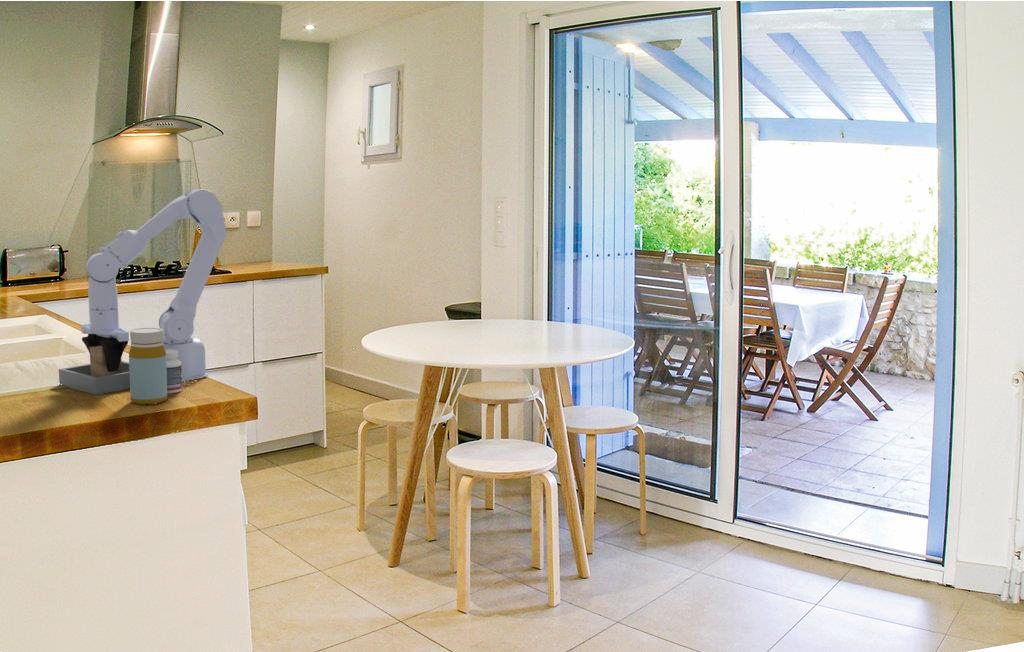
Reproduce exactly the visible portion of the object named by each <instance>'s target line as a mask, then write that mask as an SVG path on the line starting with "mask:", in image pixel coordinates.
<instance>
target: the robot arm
mask: <svg viewBox="0 0 1024 652" xmlns="http://www.w3.org/2000/svg"><path fill="white" fill-rule="evenodd" d="M223 211H224V210H223V205H222V203H221V202H220V200H219V198H218V197H217V195H216V194H215V193H214V192H212V190H211V191H210V190H208V189H201V188H191V189H189V190H188V191H186V192H185V194H184V195H183V194H182V195H180V196H179V197H177V198H175V199H174V200H171V202H169V203H168V204H167V205H166V206H164V207H163V208H162V209H161V210H160V211H158V212H157V213H156V214H155V215H153V217H151V218H149V220H147V221H146V222H145V223H144V224H143V225H141V226H140V227H139V228H138V229H136V230H135V229H134V230H133V229H126V230H125V231H124V232H123V231H119V232H118V233H116V236H117V237H116V238H115V239H113V240H112V241H111V242H110V243H109V244H107V245H106V246H104V247H103V246H101V247H100V248H98V250H99V253H95V254H92V255H91V256H89V258H88V259H87V262H86V265H85V270H86V272H87V274H88V275H89V276H88V280H87V281H88V289H87V292H88V293H87V294H88V308H89V309H88V310H89V311H88V312H89V313H88V315H89V323H86V324H81V325H80V327H81V329H80V331H81V334H84V335H86V334H87V336H82V337H81V341H82V343H84V345H85V347H86V349H87V351H88V353H89V354H90V347H92V346H98V345H101V346H102V348H103V351H104V354H105V358H106V365H107V369H108V371H109V372H112V371H117V370H118V369H119V365H120V361H122V356H123V355H124V354H123V353H124V351H125V349H126V347H127V346H128V343H129V341H130V337H129V336H130V333H129V331H127V330H124V329H123V328H121V327H120V324H119V323H120V322H119V302H118V301H119V300H118V298H119V297H118V287H117V283H116V282H117V279H116V278H117V276H118V273H119V269H123V268H125V267H126V266H128V265H129V264H130V263H132V262H133V261H134V260H135V259H137V258H138V257H139V256H141V255H142V254H143V253H144V252H146V250H147V247H148V245H147V244H148V241H150V240H151V239H153V238H154V237H155V236H157V235H158V234H159V233H161V232H163V231H164V230H165V229H166V228H168V227H169V226H170V225H172V224H173V223H174V222H176V221H178V220H180V221H181V220H187V219H194V221H195V222H196V225H197V226H198V228H199V230H200V232H201V235H200V238H199V240H198V243H197V245H196V248H195V250H194V252H193V254H192V257H191V259H190V261H189V264H188V266H187V268H186V271H185V273H184V275H183V278H182V281H181V282H180V285H179V287H178V290H177V292H176V295H175V297H174V298H173V299H172V300H171V302H170V304H169V305H168V308H167V309H166V310H165V311H164V312H162V314H161V315H160V316H159V319H158V328H160V329H163V346H164V349H165V350H168V349H172V350H177V351H178V358H177V360H179V361H181V364H182V383H183V382H187V381H194V380H196V379H198V380H199V379H202V378H208V377H209V375H208V374H207V373H206V348H205V345H204V343H203V341H201V339H199V338H195V337H193V336H192V335H193V334H194V331H195V327H194V326H195V325H194V320H195V317H196V314H197V305H198V303H199V301H200V298H201V296H202V294H203V291H204V289H205V286H206V284H207V283H208V282H207V281H208V279H209V277H210V274H211V272H212V269H213V267H214V264H215V262H216V261H217V257H218V255H219V253H220V250H221V248H222V246H223V243H224V240H225V239H226V235H227V230H226V229H227V228H226V223H225V217H224V212H223Z"/></svg>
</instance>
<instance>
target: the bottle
mask: <svg viewBox="0 0 1024 652" xmlns="http://www.w3.org/2000/svg"><path fill="white" fill-rule="evenodd" d="M163 334H164V332H163V329H160V327H139V328H134V329H130V333H129V336H130V337H129V339H130V348H129V352H128V362H129V372H130V388H129V391H130V393H129V394H130V395H129V396H130V401H131V402H132V403H133V404H135V405H138V406H139V405H140V406H147V405H146V404H154V405H156V404H155V403H159V404H161V403H160V402H162V403H164V402H165V401H166V400H167V398H168V393H167V368H166V351H165V349H164V346H163ZM163 401H164V402H163Z"/></svg>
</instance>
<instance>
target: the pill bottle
mask: <svg viewBox="0 0 1024 652" xmlns="http://www.w3.org/2000/svg"><path fill="white" fill-rule="evenodd" d="M165 351H166V368H167V394H175V393H179V392H182V390H183V382H182V364H181V361H179V360H177V358H178V351H177V350H172V349H168V350H165Z"/></svg>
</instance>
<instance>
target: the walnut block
mask: <svg viewBox="0 0 1024 652" xmlns="http://www.w3.org/2000/svg"><path fill="white" fill-rule="evenodd" d="M89 361H90V362H89V364H90V368H91V376H93V377H96V378H97V377H103V376H108V375H114V374H119V373H122V364H121V361H122V360H121V361H120V365H119V369H118V370H117V371H112V372H109V371H108V369H107V365H106V358H105V354H104V351H103V348H102V346H101V345H98V346H92V347H90V353H89Z"/></svg>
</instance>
